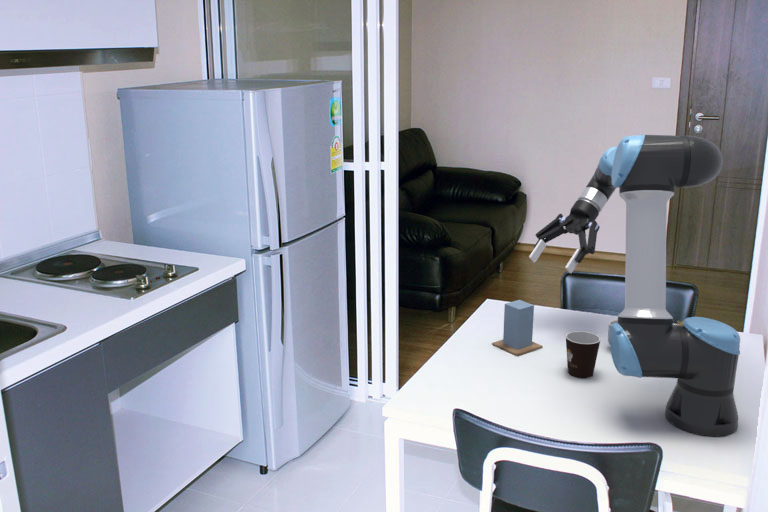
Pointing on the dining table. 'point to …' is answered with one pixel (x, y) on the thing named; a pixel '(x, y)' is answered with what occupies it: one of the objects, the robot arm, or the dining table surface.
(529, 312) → the pale blue tall brick
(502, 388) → the dining table surface
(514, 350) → the square wooden base plate
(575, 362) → the coffee mug
